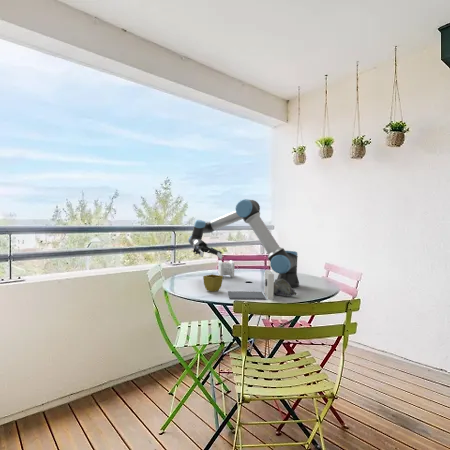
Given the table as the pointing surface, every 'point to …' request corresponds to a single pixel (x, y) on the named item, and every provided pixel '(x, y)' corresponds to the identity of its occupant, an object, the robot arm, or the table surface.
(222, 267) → the cable organizer
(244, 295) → the mat
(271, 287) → the wall socket block
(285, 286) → the mineral rock
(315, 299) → the table surface
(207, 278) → the flower pot
